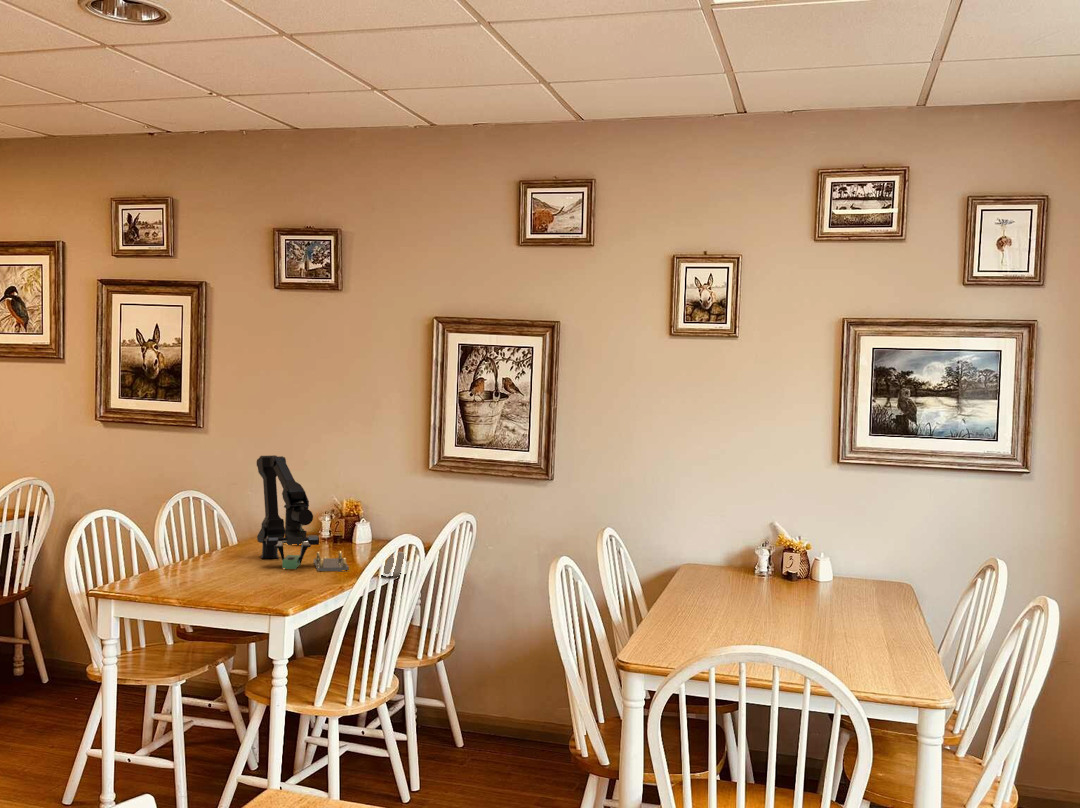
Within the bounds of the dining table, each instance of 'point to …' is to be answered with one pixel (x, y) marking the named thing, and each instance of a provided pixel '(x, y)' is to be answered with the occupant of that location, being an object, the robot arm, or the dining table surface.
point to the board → (291, 562)
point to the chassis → (331, 563)
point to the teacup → (390, 562)
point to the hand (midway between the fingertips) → (291, 563)
